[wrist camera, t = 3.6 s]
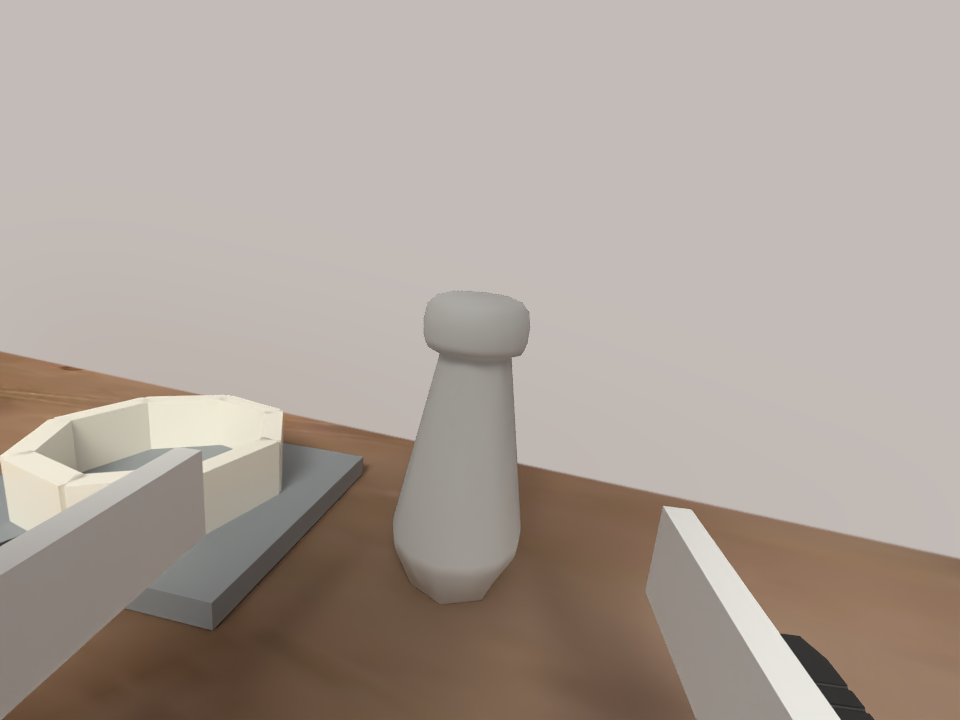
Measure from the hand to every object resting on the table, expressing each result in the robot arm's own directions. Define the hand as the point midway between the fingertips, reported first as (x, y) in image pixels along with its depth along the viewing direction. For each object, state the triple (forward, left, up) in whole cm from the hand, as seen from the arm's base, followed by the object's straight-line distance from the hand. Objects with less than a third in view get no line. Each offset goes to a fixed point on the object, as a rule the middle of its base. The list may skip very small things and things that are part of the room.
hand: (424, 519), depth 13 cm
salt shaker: (+6, -3, -7) cm, 10 cm away
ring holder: (+15, +10, -6) cm, 19 cm away
